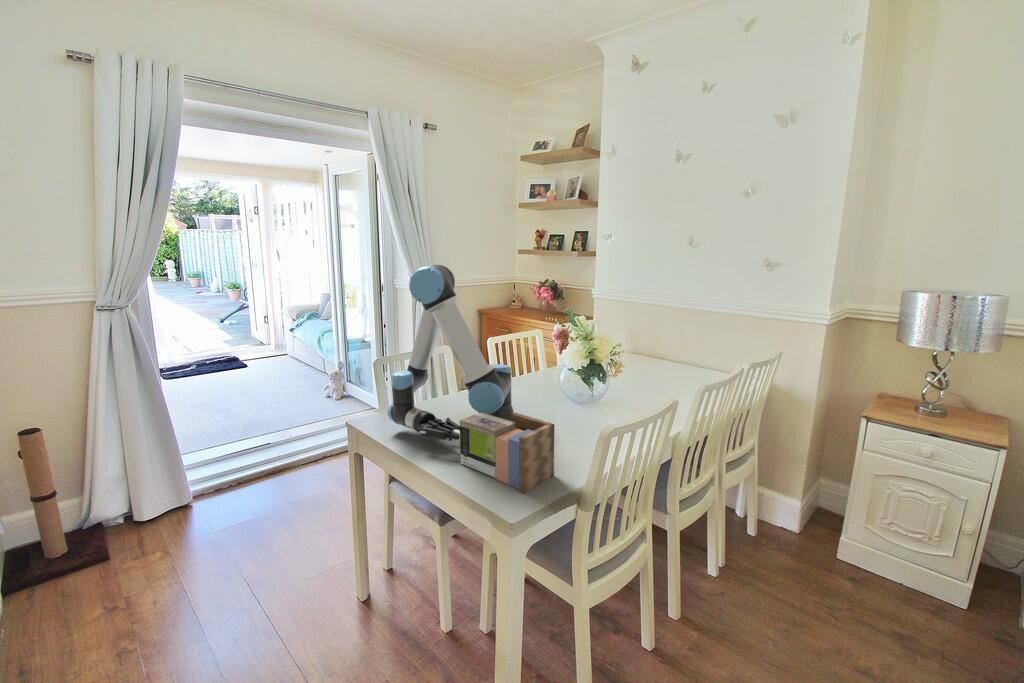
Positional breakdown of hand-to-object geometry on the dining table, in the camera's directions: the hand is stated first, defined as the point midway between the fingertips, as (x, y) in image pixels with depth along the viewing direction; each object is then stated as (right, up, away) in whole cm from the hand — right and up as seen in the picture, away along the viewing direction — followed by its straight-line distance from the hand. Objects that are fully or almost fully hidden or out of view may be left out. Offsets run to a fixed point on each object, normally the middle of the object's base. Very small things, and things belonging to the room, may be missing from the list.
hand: (468, 439), depth 150 cm
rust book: (+14, -9, -9) cm, 19 cm away
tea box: (+6, -8, -3) cm, 11 cm away
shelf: (+16, -9, -9) cm, 21 cm away
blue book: (+17, -10, -12) cm, 23 cm away
